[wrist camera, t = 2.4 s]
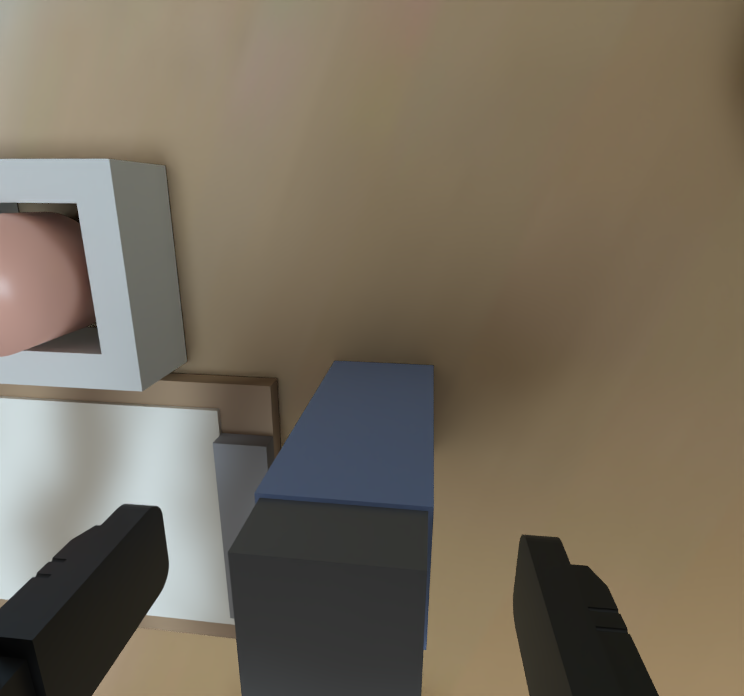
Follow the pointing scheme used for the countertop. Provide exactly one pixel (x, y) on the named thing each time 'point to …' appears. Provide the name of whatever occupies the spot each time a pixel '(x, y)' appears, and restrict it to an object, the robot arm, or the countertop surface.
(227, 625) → the clipboard
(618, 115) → the countertop surface
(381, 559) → the blue grey block
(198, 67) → the countertop surface
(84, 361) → the button housing
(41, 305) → the button
